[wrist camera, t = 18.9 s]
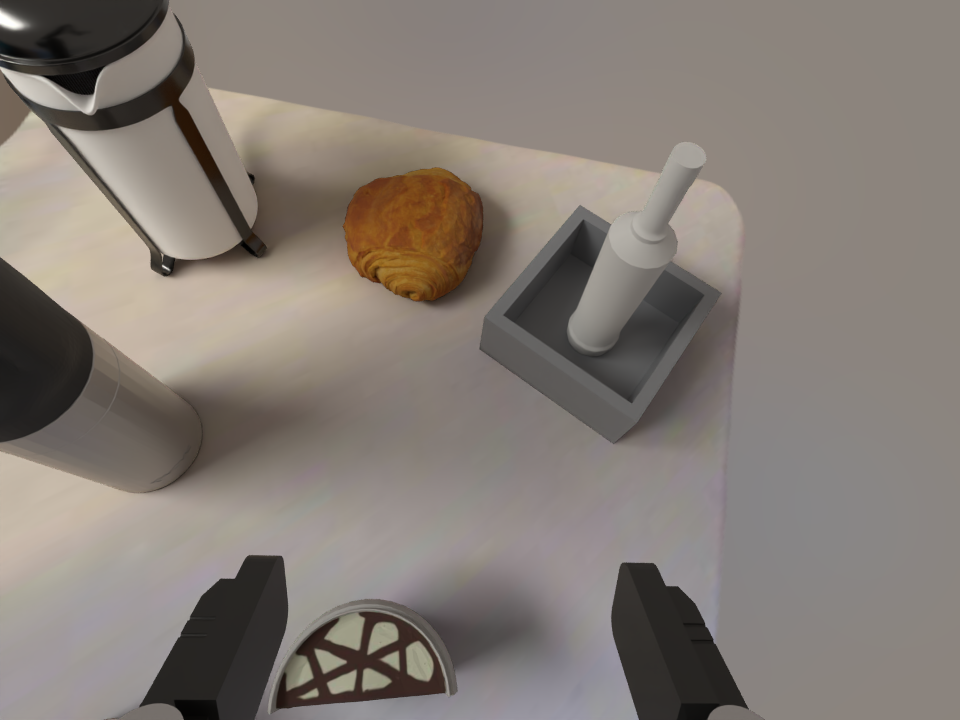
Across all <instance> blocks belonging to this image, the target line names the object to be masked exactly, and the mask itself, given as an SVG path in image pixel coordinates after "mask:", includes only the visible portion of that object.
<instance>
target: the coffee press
mask: <svg viewBox="0 0 960 720" xmlns="http://www.w3.org/2000/svg"><path fill="white" fill-rule="evenodd" d="M0 70H1V71H2V72H3V74H4V77H5V79H6V81H7V83H8V84H9V86H10V87H11V88H12V89H13V90H14V92H15V93H16V94H17V95H18V96H19V97H20V99H21V100H22V101H23V102H24V103H25V104H26V106H27V107H28V108H29V109H30V110H31V111H32V112H33V113H35V114H36V115H37V116H38V117H39V118H40V119H42V120H43V121H44V122H45V124H46V125H47V126H48V128H49V130H50V131H51V133H52V134H53V135H54V136H55V137H56V138H57V140H58V141H59V142H60V143H61V144H62V146H63V147H64V148H65V149H66V150H67V151H68V153H69V154H70V155H71V156H72V157H73V159H74V160H75V161H76V162H77V163H78V164H79V166H80V167H81V168H82V169H83V170H84V172H85V173H86V174H87V175H88V176H89V177H90V179H91V180H92V181H93V182H94V183H95V185H96V186H97V187H98V188H99V189H100V190H101V192H102V193H103V194H104V195H105V196H106V198H107V199H108V200H109V201H110V202H111V203H112V205H113V206H114V207H115V208H116V209H117V211H118V212H119V213H120V214H121V215H122V216H123V218H124V219H125V220H126V221H127V222H128V224H129V225H130V226H131V227H132V228H133V229H134V231H135V232H136V233H137V234H138V235H139V237H140V238H141V239H142V240H143V241H144V243H145V244H146V245H147V246H148V248H149V249H150V253H151V269H152V270H153V271H155V272H157V273H159V274H161V275H162V276H168V275H170V274H171V273H172V271H173V268H174V262H175V258H178V259H185V260H198V259H205V258H210V257H214V256H217V255H219V254H222V253H224V252H226V251H228V250H230V249H231V248H233V247H234V246H236V245H237V244H240V245H241V246H242V247H243V248H245V249H246V250H247V251H248V252H249V253H250V254H252V255H253V256H255V257H257V258H259V257H260V256H261V254H262V253H263V252H264V251H265V250H266V249H267V247H266V245H265V244H264V243H263V242H262V241H261V240H260V239H259V238H258V237H257V236H256V235H255V234H254V233H253V231H252V230H251V228H252V226H253V224H254V222H255V219H256V216H257V210H258V202H257V196H256V193H255V190H254V188H253V186H252V185H253V183H254V180H255V178H254V175H252V174H250V173H248V172H246V170H245V168H244V166H243V163H242V161H241V159H240V157H239V155H238V153H237V150H236V148H235V146H234V144H233V142H232V140H231V137H230V135H229V133H228V131H227V129H226V127H225V125H224V122H223V120H222V118H221V116H220V114H219V112H218V109H217V107H216V105H215V103H214V101H213V99H212V96H211V94H210V92H209V90H208V88H207V86H206V84H205V81H204V79H203V77H202V75H201V73H200V71H199V68H198V67H197V64H196V62H195V58H194V52H193V49H192V46H191V44H190V42H189V40H188V37H187V35H186V33H185V31H184V29H183V27H182V24H181V23H180V21H179V19H178V18H177V17H176V15H174V13H173V12H172V10H171V8H170V6H169V0H0ZM161 253H162V254H164V256H163V262H162V256H161Z"/></svg>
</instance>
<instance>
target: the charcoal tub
mask: <svg viewBox="0 0 960 720" xmlns="http://www.w3.org/2000/svg"><path fill="white" fill-rule="evenodd" d="M610 226H611V224H610V223H608V222H606V221H605V220H603V219H602V218H600V217H598V216H597V215H595V214H593V213H592V212H590V211H589V210H587V209H585V208H584V207H582V206H581V205H579V207H578V208H577V209H576V210H575V211H574V213H573V214H572V215H571V216H570V217H569V218H568V220H567V221H566V222H565V223H564V224H563V225H562V227H561V228H560V229H559V230H558V231H557V232H556V234H555V235H554V236H553V237H552V238H551V239H550V241H549V242H548V243H547V244H546V245H545V247H544V248H543V249H542V250H541V251H540V252H539V254H538V255H537V256H536V257H535V258H534V259H533V261H532V262H531V263H530V264H529V265H528V266H527V268H526V269H525V270H524V271H523V272H522V273H521V275H520V276H519V277H518V278H517V279H516V281H515V282H514V283H513V284H512V285H511V286H510V288H509V289H508V290H507V291H506V292H505V293H504V295H503V296H502V297H501V298H500V299H499V300H498V302H497V303H496V304H495V305H494V306H493V308H492V309H491V310H490V311H489V312H488V313H487V315H486V316H485V317H484V323H483V329H482V336H481V342H480V350H482V351H483V352H484V353H486V354H487V355H489V356H490V357H492V358H493V359H494V360H496V361H497V362H499V363H500V364H501V365H503V366H504V367H506V368H507V369H508V370H510V371H511V372H513V373H514V374H516V375H517V376H518V377H520V378H521V379H523V380H524V381H525V382H527V383H528V384H530V385H531V386H533V387H534V388H535V389H537V390H538V391H540V392H541V393H542V394H544V395H545V396H547V397H548V398H549V399H551V400H552V401H554V402H555V403H557V404H558V405H559V406H561V407H562V408H564V409H565V410H566V411H568V412H569V413H571V414H572V415H573V416H575V417H576V418H578V419H579V420H581V421H582V422H583V423H585V424H586V425H588V426H589V427H590V428H592V429H593V430H595V431H596V432H597V433H599V434H600V435H602V436H603V437H605V438H606V439H607V440H609V441H610V442H612V443H613V444H614V443H615V442H616V441H617V440H618V439H619V438H620V437H622V436H623V435H624V434H625V433H626V432H627V431H628V430H629V429H631V428H632V427H633V426H634V425H635V424H636V423H637V422H638V421H639V419H640V418H641V416H642V414H643V413H644V411H645V410H646V408H647V407H648V405H649V404H650V402H651V401H652V399H653V398H654V396H655V395H656V393H657V391H658V390H659V388H660V387H661V385H662V384H663V382H664V381H665V379H666V378H667V376H668V375H669V373H670V372H671V370H672V368H673V367H674V365H675V364H676V362H677V361H678V359H679V358H680V356H681V355H682V353H683V352H684V350H685V349H686V347H687V345H688V344H689V342H690V341H691V339H692V338H693V336H694V335H695V333H696V332H697V330H698V329H699V327H700V326H701V324H702V323H703V321H704V319H705V318H706V316H707V315H708V313H709V312H710V310H711V309H712V307H713V306H714V304H715V303H716V301H717V300H718V298H719V296H720V295H721V292H719V291H718V290H716V289H714V288H713V287H711V286H710V285H708V284H706V283H705V282H703V281H701V280H700V279H698V278H697V277H695V276H693V275H692V274H690V273H689V272H687V271H685V270H684V269H682V268H680V267H679V266H677V265H676V264H674V263H672V262H671V261H670V262H669V264H668V265H667V267H666V268H665V269H664V271H663V272H662V274H661V275H660V276H659V278H658V279H657V281H656V282H655V283H654V285H653V286H652V288H651V289H650V290H649V292H648V293H647V295H646V296H645V297H644V299H643V300H642V302H641V303H640V304H639V306H638V307H637V309H636V310H635V311H634V313H633V314H632V316H631V317H630V318H629V320H628V321H627V323H626V324H625V326H624V327H623V328H622V330H621V331H620V335H619V339H618V340H617V342H616V343H615V345H614V346H613V347H612V349H611V350H609V351H608V352H606V353H604V354H602V355H600V356H592V357H590V356H586V355H582V354H580V353H579V352H577V351H576V350H575V349H574V348H573V347H572V346H571V344H570V343H569V340H568V336H567V327H568V323H569V319H570V317H571V315H572V314H573V313H574V312H575V310H577V307H578V305H579V302H580V300H581V297H582V295H583V292H584V290H585V287H586V285H587V283H588V280H589V278H590V275H591V273H592V270H593V268H594V265H595V263H596V260H597V258H598V256H599V253H600V251H601V248H602V246H603V243H604V241H605V238H606V236H607V234H608V231H609V229H610Z"/></svg>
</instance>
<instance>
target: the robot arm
mask: <svg viewBox="0 0 960 720" xmlns="http://www.w3.org/2000/svg"><path fill="white" fill-rule="evenodd" d="M201 439H202V428H201V422H200V419H199V417H198V414H197V413H196V411H195V410H194V408H193V407H192V406H191V405H190V404H189V403H187V402H186V401H185V400H184V399H182V398H181V397H180V396H178V395H177V394H176V393H174V392H173V391H172V390H171V389H169V388H168V387H167V386H165V385H164V384H163V383H162V382H160V381H159V380H158V379H156V378H155V377H154V376H152V375H151V374H150V373H148V372H147V371H146V370H144V369H143V368H142V367H140V366H139V365H138V364H136V363H135V362H134V361H132V360H131V359H130V358H128V357H127V356H126V355H124V354H123V353H122V352H120V351H119V350H118V349H116V348H115V347H114V346H113V345H111V344H110V343H109V342H107V341H106V340H105V339H103V338H102V337H100V336H99V335H98V334H96V333H95V332H94V331H92V330H91V329H90V328H88V327H87V326H86V325H84V324H83V323H82V322H80V321H79V320H78V319H76V318H75V317H74V316H72V315H71V314H70V313H68V312H67V311H66V310H64V309H63V308H62V307H61V306H59V305H58V304H57V303H56V302H55V301H53V300H52V299H51V298H50V297H49V296H47V295H46V294H45V293H44V292H43V291H42V290H40V289H39V288H38V287H37V286H36V285H35V284H33V283H32V282H31V281H30V280H28V279H27V278H26V277H25V276H23V275H22V274H21V273H20V272H18V271H17V270H16V269H15V268H13V267H12V266H11V265H9V264H8V263H7V262H6V261H4V260H3V259H2V258H1V257H0V451H2V452H5V453H8V454H12V455H15V456H18V457H21V458H24V459H27V460H30V461H33V462H36V463H39V464H42V465H45V466H48V467H52V468H55V469H58V470H61V471H64V472H67V473H70V474H73V475H76V476H79V477H82V478H85V479H88V480H91V481H94V482H97V483H100V484H103V485H106V486H109V487H112V488H116V489H119V490H122V491H126V492H132V493H143V492H149V491H154V490H156V489H159V488H162V487H165V486H166V485H168V484H170V483H171V482H173V481H175V480H176V479H177V478H178V477H180V476H181V475H182V474H183V473H184V472H185V471H186V470H187V469H188V467H189V466H190V465H191V464H192V462H193V461H194V459H195V457H196V455H197V453H198V451H199V448H200V444H201ZM287 618H288V598H287V588H286V578H285V568H284V560H283V557H282V556H265V555H249V556H247V557H246V558H245V560H244V562H243V564H242V566H241V568H240V570H239V572H238V574H237V576H236V578H235V579H220V580H219V581H218V582H217V583H215V584H214V585H213V586H212V587H211V588H210V589H209V590H208V591H207V592H206V593H204V594H203V595H202V596H201V598H200V600H199V602H198V603H197V605H196V607H195V609H194V611H193V612H192V614H191V616H190V620H189V621H187V623H186V625H185V627H184V629H183V630H182V632H181V636H180V638H178V639H177V641H176V643H175V645H174V646H173V648H172V650H171V652H170V654H169V655H168V657H167V659H166V661H165V662H164V664H163V666H162V668H161V670H160V671H159V673H158V675H157V677H156V679H155V680H154V682H153V684H152V686H151V688H150V689H149V691H148V693H147V695H146V696H145V698H144V700H143V702H142V703H141V705H140V706H139V708H137V709H135V710H132V711H131V712H129V713H127V714H125V715H124V716H122V717H121V718H120V719H118V720H254V719H255V716H256V713H257V710H258V707H259V705H260V702H261V699H262V696H263V693H264V690H265V688H266V685H267V682H268V679H269V676H270V673H271V670H272V668H273V665H274V662H275V659H276V656H277V653H278V650H279V648H280V645H281V642H282V639H283V636H284V633H285V629H286V624H287ZM611 622H612V631H613V637H614V640H615V644H616V647H617V650H618V653H619V657H620V660H621V663H622V666H623V670H624V673H625V676H626V679H627V683H628V686H629V689H630V692H631V695H632V699H633V702H634V705H635V708H636V712H637V715H638V718H639V720H765V719H763V718H762V717H761V716H759V715H757V714H756V713H754V712H753V711H751V710H749V708H748V707H747V705H746V703H745V701H744V699H743V697H742V696H741V693H740V691H739V690H738V688H737V685H736V683H735V682H734V679H733V677H732V675H731V674H730V672H729V670H728V668H727V666H726V664H725V662H724V660H723V658H722V656H721V654H720V652H719V650H718V648H717V646H716V644H714V642H713V638H712V636H711V634H710V632H709V630H708V628H707V627H705V622H704V620H703V618H702V616H701V614H700V612H699V610H698V608H697V606H696V604H695V603H694V602H693V601H692V600H691V599H690V598H689V597H688V596H687V595H686V594H685V593H684V592H683V591H682V590H681V589H680V588H679V587H678V586H666V585H665V583H664V581H663V579H662V577H661V575H660V572H659V570H658V568H657V566H656V565H655V564H654V563H622V564H621V566H620V569H619V574H618V580H617V585H616V590H615V596H614V601H613V606H612V614H611Z"/></svg>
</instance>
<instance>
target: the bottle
mask: <svg viewBox="0 0 960 720" xmlns="http://www.w3.org/2000/svg"><path fill="white" fill-rule="evenodd" d="M705 162H706V154H705V152H704V151H703V149H702V148H701V147H700V146H698V145H696V144H694V143H690V142H682V143H680V144H678V145H676V146H675V147H674V149H673V151H672V153H671V154H670V156H669V159H668V160H667V162H666V164H665V166H664V168H663V170H662V174H661V176H660V178H659V180H658V182H657V184H656V186H655V188H654V190H653V192H652V194H651V196H650V197H649V199H648V201H647V203H646V205H645V207H644V209H643V211H633V212H627V213H625V214H623V215H621V216H619V217H617V218H616V220H615V221H614V222H613V223H612V225H611V226H610V229H609V231H608V234H607V236H606V238H605V241H604V243H603V246H602V248H601V251H600V253H599V256H598V258H597V260H596V263H595V265H594V268H593V270H592V273H591V275H590V278H589V280H588V283H587V285H586V287H585V290H584V292H583V295H582V297H581V300H580V302H579V305H578V307H577V310H575V312H574V313H573V314H572V315H571V317H570V319H569V323H568V327H567V336H568V340H569V343H570V344H571V346H572V347H573V348H574V349H575V350H576V351H577V352H579V353H580V354H582V355H586V356H590V357H592V356H600V355H602V354H604V353H606V352H608V351H609V350H611V349H612V347H613V346H614V345H615V343H616V342H617V340H618V339H619V335H620V331H621V330H622V328H623V327H624V326H625V324H626V323H627V321H628V320H629V318H630V317H631V316H632V314H633V313H634V311H635V310H636V309H637V307H638V306H639V304H640V303H641V302H642V300H643V299H644V297H645V296H646V295H647V293H648V292H649V290H650V289H651V288H652V286H653V285H654V283H655V282H656V281H657V279H658V278H659V276H660V275H661V274H662V272H663V271H664V269H665V268H666V267H667V265H668V264H669V262H670V261H671V260H672V258H673V257H674V255H675V254H676V251H677V243H678V241H677V238H676V235H675V232H674V230H673V229H672V228H671V227H670V225H669V224H668V223H669V221H670V219H671V218H672V216H673V214H674V213H675V211H676V209H677V207H678V206H679V204H680V202H681V201H682V199H683V197H684V195H685V194H686V192H687V190H688V189H689V187H690V186H691V185H692V183H693V182H694V180H695V179H696V177H697V175H698V174H699V172H700V170H701V168H702V167H703V165H704V164H705Z"/></svg>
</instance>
